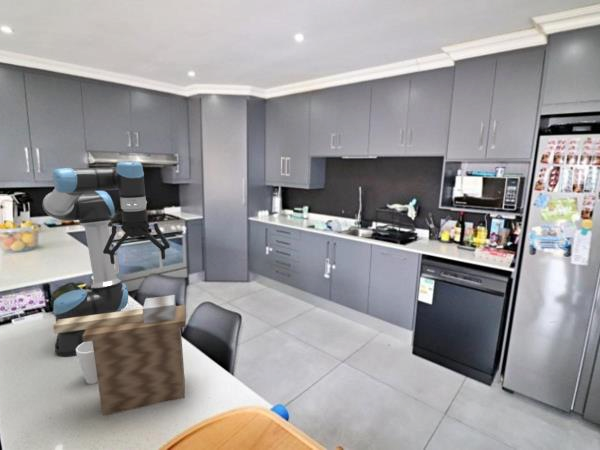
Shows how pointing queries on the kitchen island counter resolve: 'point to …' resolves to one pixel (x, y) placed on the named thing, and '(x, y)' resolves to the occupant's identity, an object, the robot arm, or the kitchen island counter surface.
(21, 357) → the kitchen island counter surface
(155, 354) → the walnut stand
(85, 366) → the foam cup
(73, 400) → the kitchen island counter surface
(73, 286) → the squash
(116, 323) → the mallet
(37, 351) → the kitchen island counter surface
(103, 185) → the robot arm
